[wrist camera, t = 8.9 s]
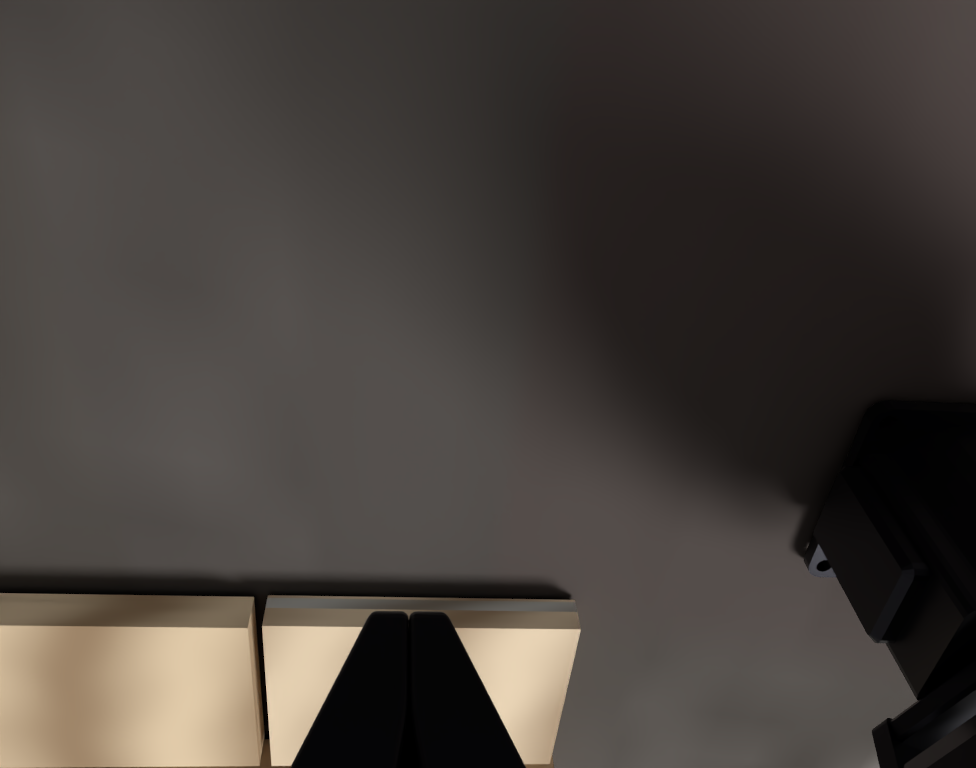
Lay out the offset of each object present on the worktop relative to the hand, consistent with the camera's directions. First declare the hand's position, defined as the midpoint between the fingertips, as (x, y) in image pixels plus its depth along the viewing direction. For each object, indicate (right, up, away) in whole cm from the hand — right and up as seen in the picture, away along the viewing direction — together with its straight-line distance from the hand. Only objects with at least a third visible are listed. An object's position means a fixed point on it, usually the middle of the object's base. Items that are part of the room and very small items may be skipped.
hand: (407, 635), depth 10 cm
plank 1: (-11, -6, +18) cm, 22 cm away
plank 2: (-1, -7, +19) cm, 20 cm away
